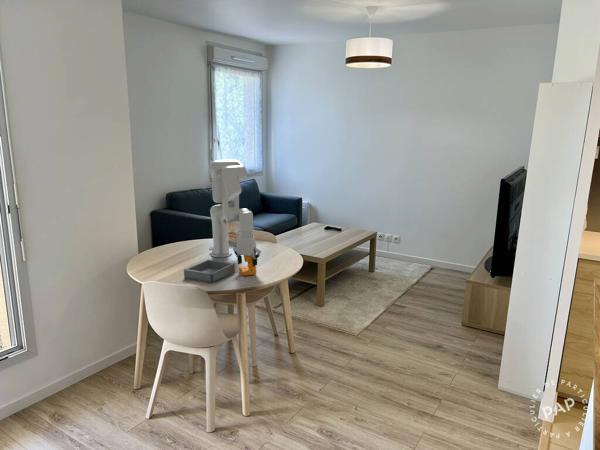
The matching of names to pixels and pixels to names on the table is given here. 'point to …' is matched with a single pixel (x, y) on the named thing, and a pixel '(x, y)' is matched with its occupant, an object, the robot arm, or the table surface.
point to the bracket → (248, 266)
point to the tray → (209, 271)
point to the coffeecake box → (233, 231)
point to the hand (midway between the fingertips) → (247, 264)
